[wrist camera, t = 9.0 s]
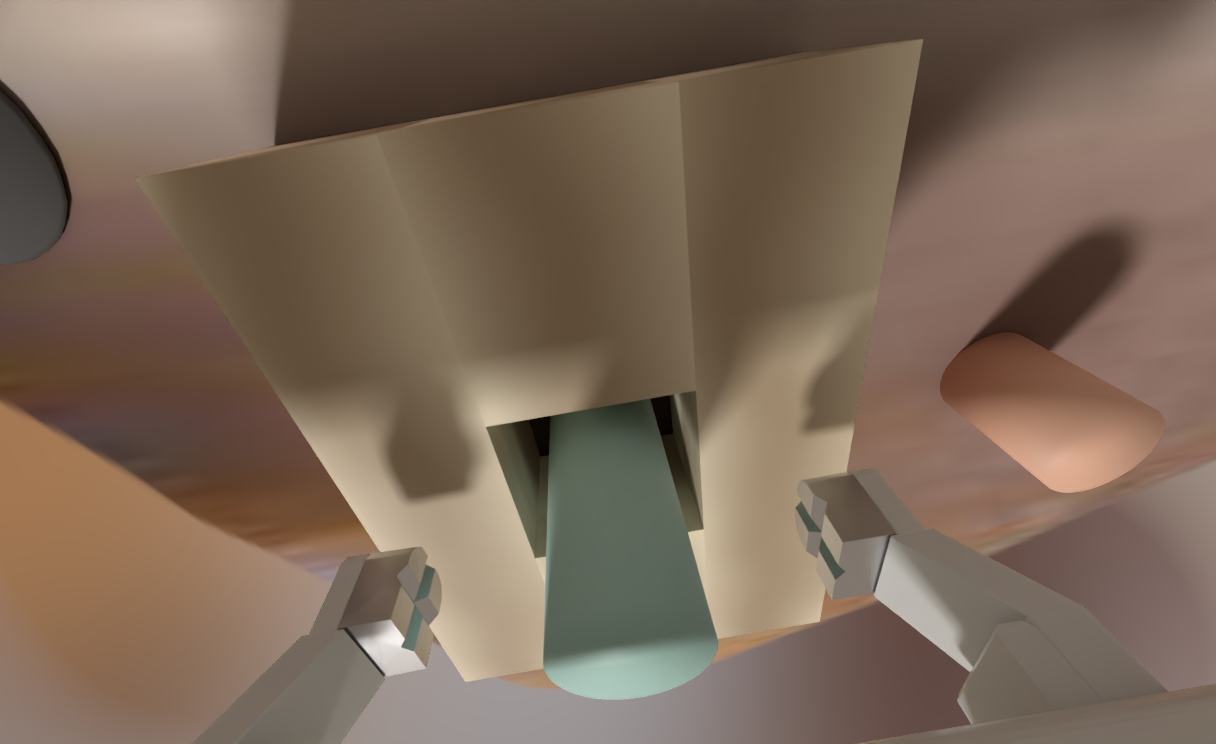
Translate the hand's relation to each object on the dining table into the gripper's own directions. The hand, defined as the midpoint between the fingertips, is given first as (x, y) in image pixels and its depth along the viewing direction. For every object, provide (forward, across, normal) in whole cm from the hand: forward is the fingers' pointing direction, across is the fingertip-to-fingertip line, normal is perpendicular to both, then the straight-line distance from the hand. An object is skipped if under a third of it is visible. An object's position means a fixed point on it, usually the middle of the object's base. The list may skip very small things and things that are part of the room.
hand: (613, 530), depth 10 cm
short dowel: (+6, -13, +2) cm, 14 cm away
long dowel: (+5, 0, 0) cm, 5 cm away
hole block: (+5, 0, 0) cm, 5 cm away
